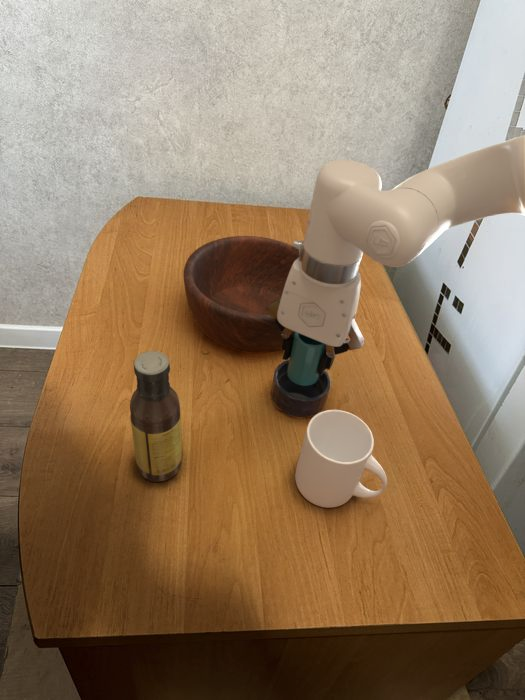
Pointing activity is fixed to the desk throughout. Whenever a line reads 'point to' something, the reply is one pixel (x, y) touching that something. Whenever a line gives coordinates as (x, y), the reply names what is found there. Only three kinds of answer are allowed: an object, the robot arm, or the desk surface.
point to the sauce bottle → (155, 418)
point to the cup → (305, 360)
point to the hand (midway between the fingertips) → (305, 360)
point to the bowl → (298, 393)
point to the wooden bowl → (238, 290)
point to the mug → (336, 459)
